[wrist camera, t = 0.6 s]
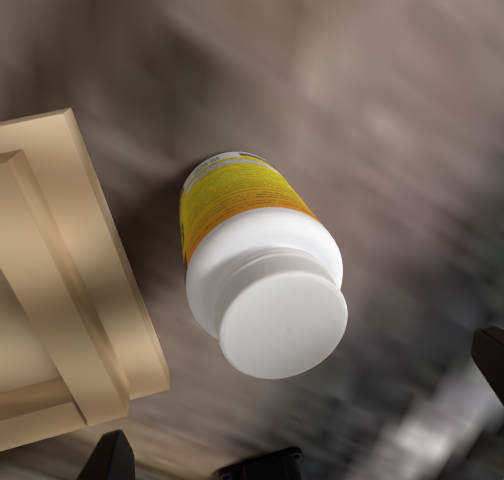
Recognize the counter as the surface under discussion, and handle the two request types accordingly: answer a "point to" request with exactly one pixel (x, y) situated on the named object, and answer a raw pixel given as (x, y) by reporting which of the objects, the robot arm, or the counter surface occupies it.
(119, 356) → the stand
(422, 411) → the counter surface
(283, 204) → the supplement bottle
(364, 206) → the counter surface
